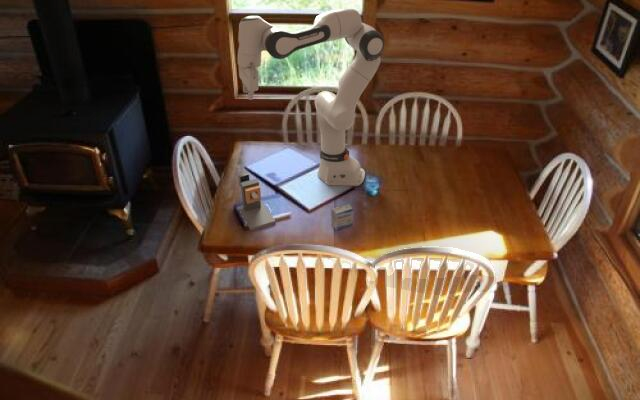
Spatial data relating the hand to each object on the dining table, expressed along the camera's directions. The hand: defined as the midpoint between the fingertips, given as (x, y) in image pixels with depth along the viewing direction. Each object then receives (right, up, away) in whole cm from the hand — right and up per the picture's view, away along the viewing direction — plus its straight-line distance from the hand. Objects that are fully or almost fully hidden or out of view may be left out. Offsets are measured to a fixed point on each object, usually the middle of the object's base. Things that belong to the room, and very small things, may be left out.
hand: (247, 95), depth 206 cm
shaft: (-1, -38, +16) cm, 42 cm away
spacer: (0, -41, +14) cm, 44 cm away
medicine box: (+38, -52, +12) cm, 65 cm away
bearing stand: (+1, -48, +16) cm, 51 cm away
